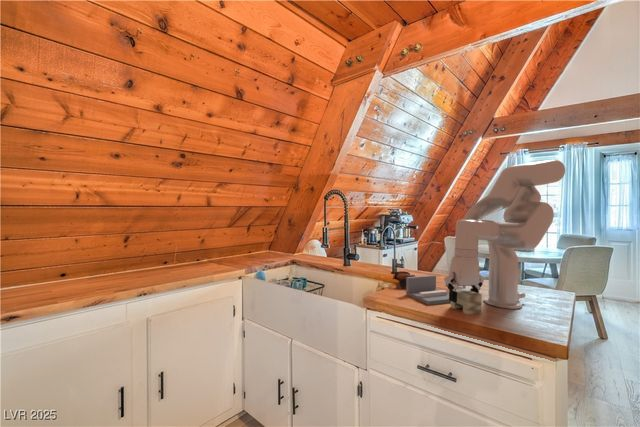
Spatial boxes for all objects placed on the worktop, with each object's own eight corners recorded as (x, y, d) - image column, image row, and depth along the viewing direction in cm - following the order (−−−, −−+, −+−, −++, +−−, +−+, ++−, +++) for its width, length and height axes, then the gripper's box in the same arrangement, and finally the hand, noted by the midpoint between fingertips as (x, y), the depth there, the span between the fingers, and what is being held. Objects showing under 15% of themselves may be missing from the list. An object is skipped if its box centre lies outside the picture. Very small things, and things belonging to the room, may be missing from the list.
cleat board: (433, 292, 128) (433, 275, 128) (457, 301, 115) (458, 282, 114) (406, 294, 123) (406, 277, 123) (428, 305, 110) (428, 285, 110)
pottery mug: (389, 288, 135) (389, 271, 139) (398, 293, 141) (397, 277, 145) (414, 286, 128) (413, 268, 132) (422, 291, 134) (421, 274, 138)
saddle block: (464, 305, 110) (464, 288, 110) (481, 312, 103) (481, 294, 103) (450, 307, 108) (450, 289, 108) (466, 314, 101) (467, 295, 101)
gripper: (475, 252, 111) (473, 296, 111) (439, 252, 106) (436, 299, 106) (493, 255, 104) (490, 302, 104) (454, 255, 99) (452, 305, 99)
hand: (463, 300), depth 105 cm, fingers open, 9 cm apart
